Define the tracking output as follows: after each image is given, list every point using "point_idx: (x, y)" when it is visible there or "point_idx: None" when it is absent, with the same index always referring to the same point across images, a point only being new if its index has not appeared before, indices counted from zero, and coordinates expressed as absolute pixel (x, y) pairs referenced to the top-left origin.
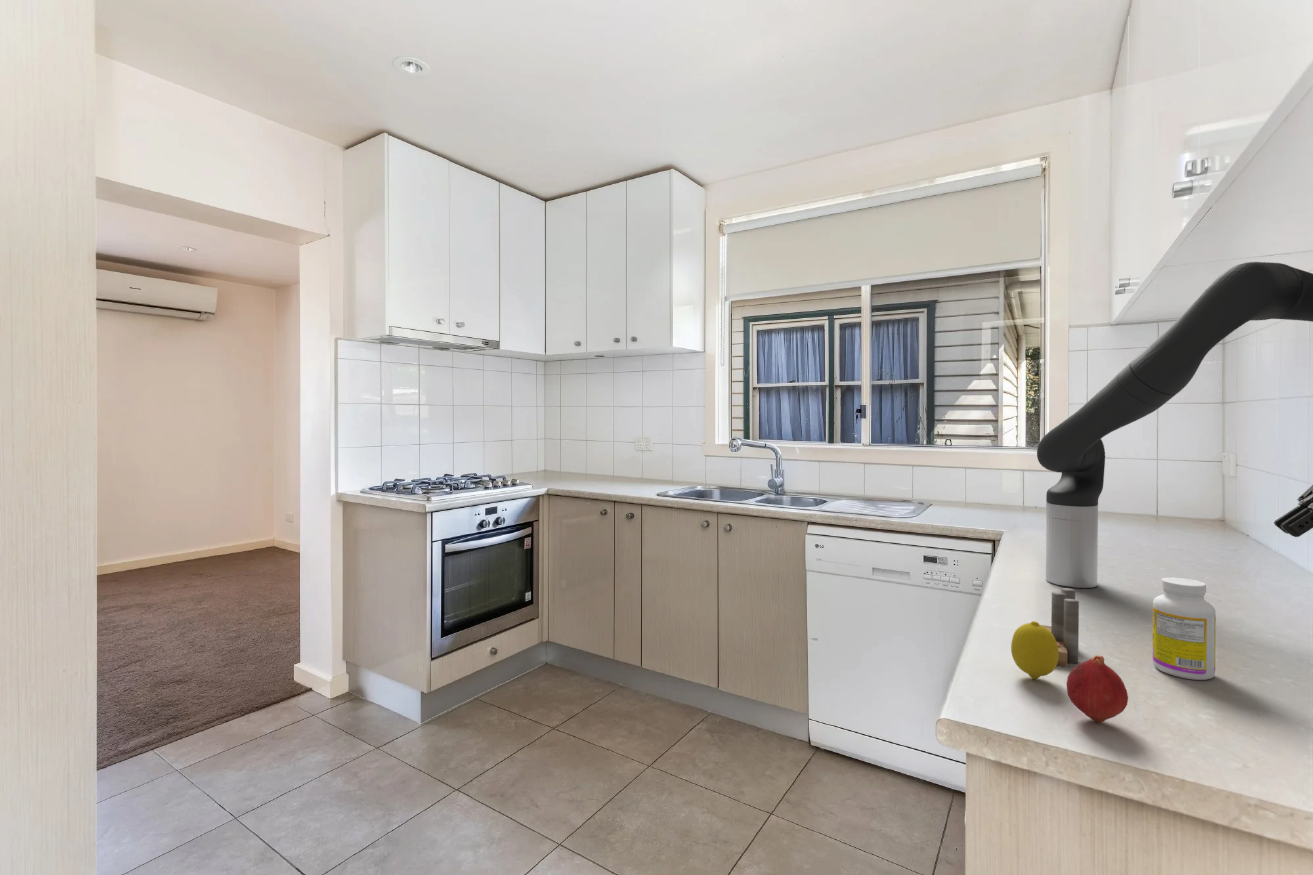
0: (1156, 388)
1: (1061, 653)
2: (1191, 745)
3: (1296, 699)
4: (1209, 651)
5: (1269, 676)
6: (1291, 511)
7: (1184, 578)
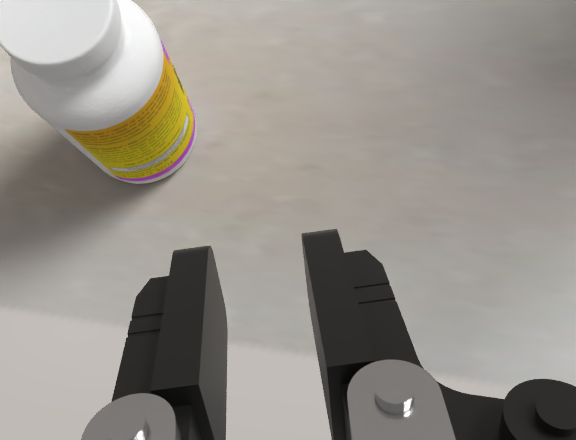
0: None
1: None
2: None
3: (92, 312)
4: (82, 152)
5: (223, 286)
6: (332, 310)
7: (107, 13)
